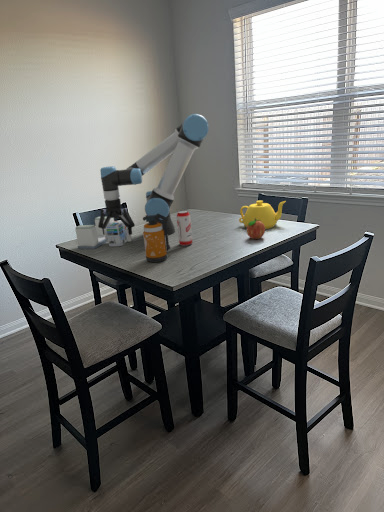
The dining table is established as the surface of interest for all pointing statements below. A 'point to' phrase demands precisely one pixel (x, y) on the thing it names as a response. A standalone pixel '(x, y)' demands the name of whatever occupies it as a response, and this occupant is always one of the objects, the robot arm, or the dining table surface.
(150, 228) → the canister
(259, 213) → the teapot
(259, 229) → the fruit
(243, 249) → the dining table surface
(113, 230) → the light bulb box
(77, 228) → the white u-shaped holder
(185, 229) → the beer can
